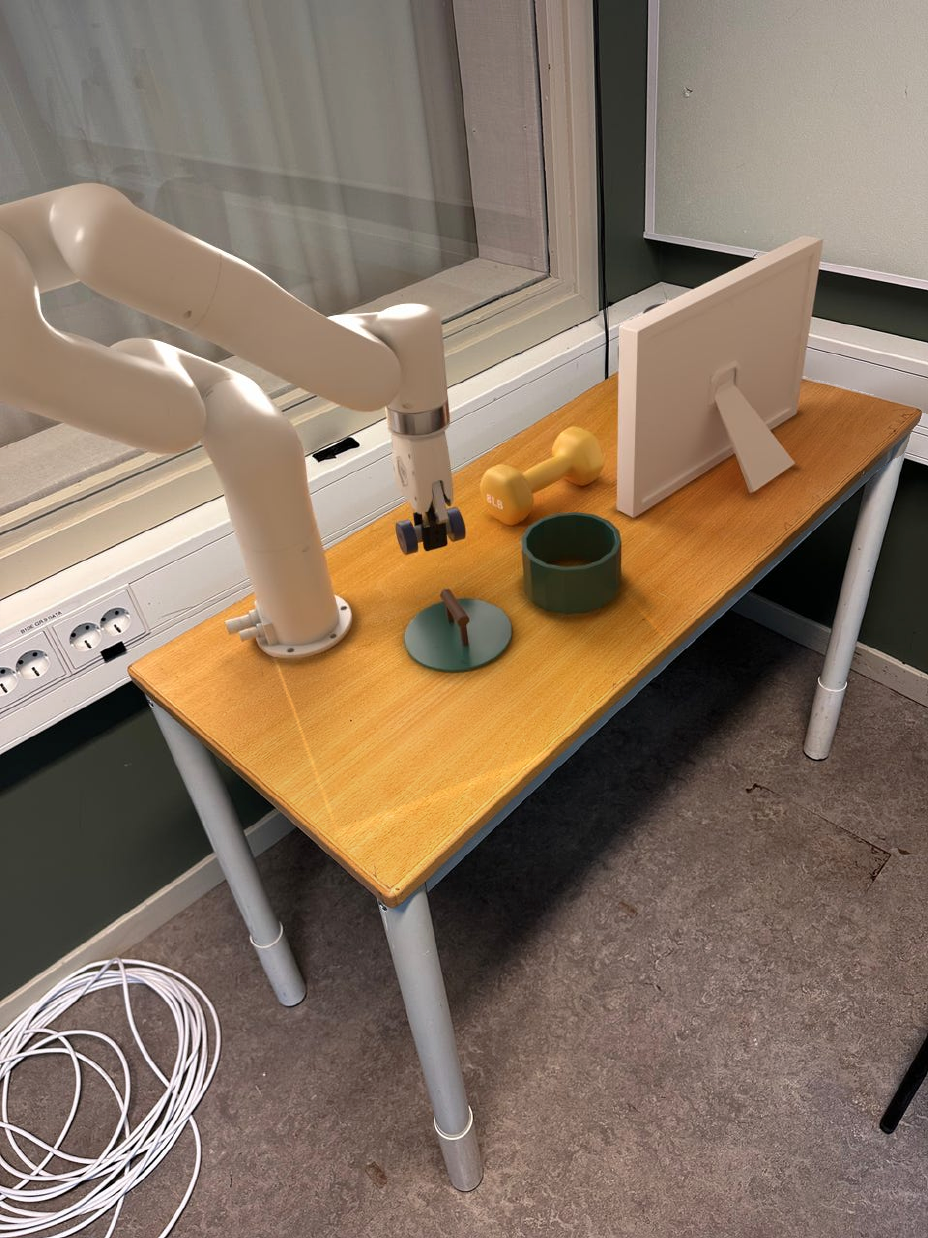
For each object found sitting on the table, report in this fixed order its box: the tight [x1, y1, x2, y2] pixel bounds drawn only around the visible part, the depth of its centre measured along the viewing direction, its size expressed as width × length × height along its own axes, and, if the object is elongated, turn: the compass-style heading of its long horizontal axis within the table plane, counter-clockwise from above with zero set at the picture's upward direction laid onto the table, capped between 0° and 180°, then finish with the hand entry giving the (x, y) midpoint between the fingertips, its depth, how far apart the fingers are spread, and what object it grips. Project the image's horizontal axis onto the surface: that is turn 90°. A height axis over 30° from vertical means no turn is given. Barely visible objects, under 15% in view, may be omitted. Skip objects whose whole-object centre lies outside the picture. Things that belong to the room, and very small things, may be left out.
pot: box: [520, 511, 623, 615], centre depth 114 cm, size 12×12×8 cm
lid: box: [403, 588, 513, 673], centre depth 109 cm, size 13×13×6 cm
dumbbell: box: [479, 425, 606, 527], centre depth 130 cm, size 19×9×8 cm, turn 129°
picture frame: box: [616, 235, 824, 519], centre depth 125 cm, size 40×12×28 cm, turn 131°
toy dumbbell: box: [395, 506, 467, 556], centre depth 116 cm, size 8×4×4 cm, turn 112°
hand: (431, 540), depth 117 cm, fingers closed on toy dumbbell, 2 cm apart
